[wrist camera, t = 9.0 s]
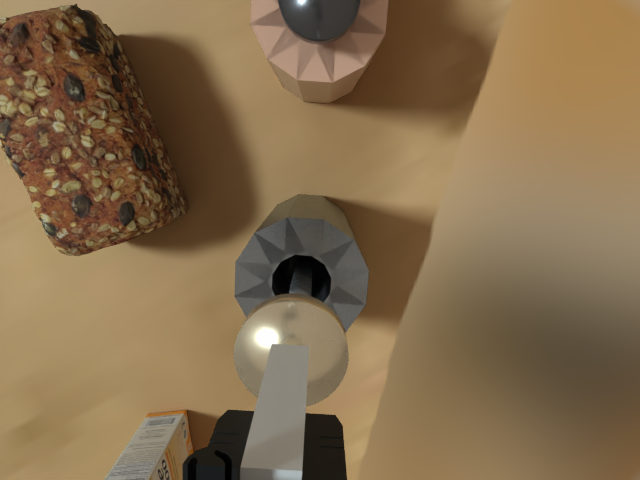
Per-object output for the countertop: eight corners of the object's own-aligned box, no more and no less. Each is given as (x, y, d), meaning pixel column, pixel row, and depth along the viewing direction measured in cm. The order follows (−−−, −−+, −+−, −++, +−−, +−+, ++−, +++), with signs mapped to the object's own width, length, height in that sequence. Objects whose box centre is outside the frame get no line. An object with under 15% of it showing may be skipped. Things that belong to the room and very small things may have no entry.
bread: (22, 63, 39) (-77, 33, 29) (125, 25, 38) (58, -18, 29) (104, 244, 43) (40, 271, 33) (199, 212, 42) (162, 230, 32)
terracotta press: (269, 99, 40) (248, 76, 28) (275, -41, 37) (254, -131, 25) (362, 105, 40) (380, 86, 28) (374, -34, 37) (400, -119, 26)
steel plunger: (267, 302, 31) (232, 404, 18) (270, 237, 30) (234, 299, 17) (334, 307, 31) (343, 411, 18) (339, 242, 30) (353, 306, 17)
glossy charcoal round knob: (289, 72, 36) (275, 36, 25) (292, 11, 35) (279, -57, 24) (345, 76, 36) (357, 42, 25) (350, 15, 35) (364, -50, 24)
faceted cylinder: (261, 304, 44) (232, 380, 29) (265, 191, 42) (236, 213, 27) (345, 310, 44) (357, 388, 29) (355, 197, 42) (374, 222, 27)
